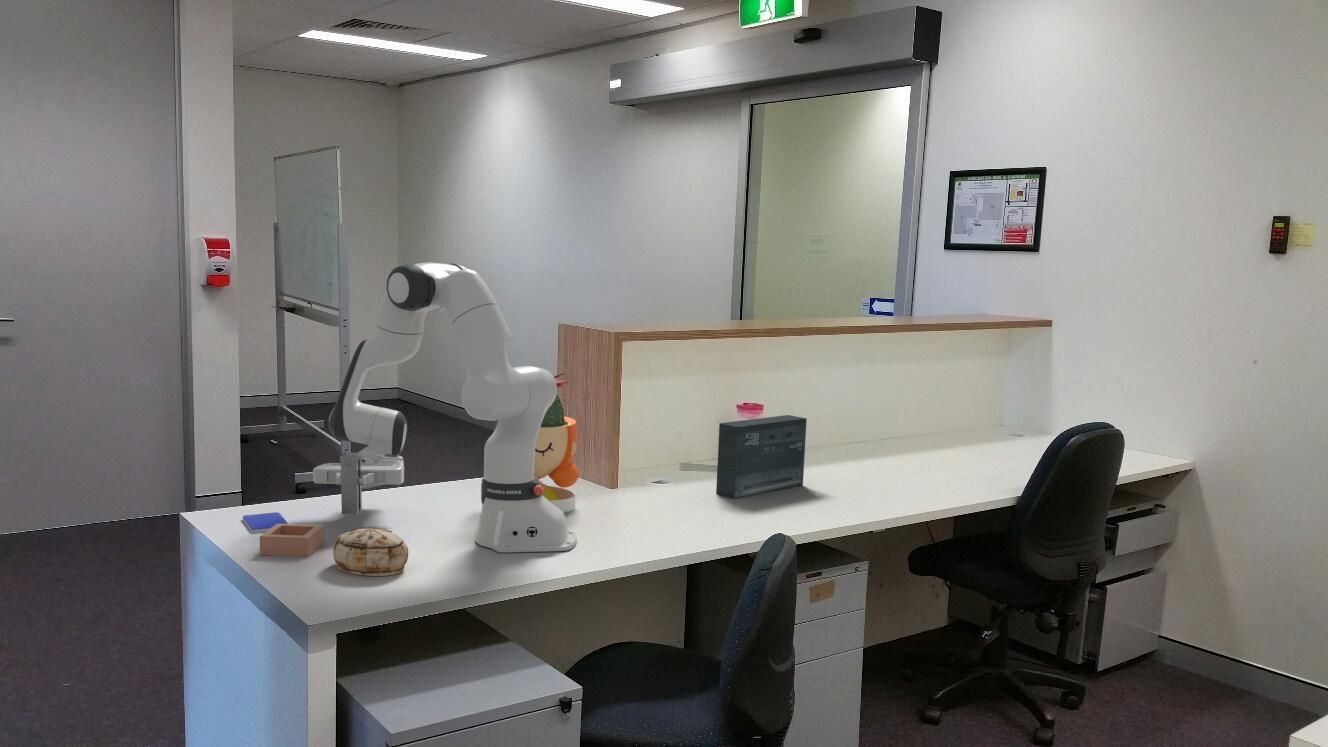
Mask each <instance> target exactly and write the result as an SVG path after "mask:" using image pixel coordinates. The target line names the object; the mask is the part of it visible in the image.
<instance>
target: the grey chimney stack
mask: <svg viewBox="0 0 1328 747" xmlns="http://www.w3.org/2000/svg"><path fill="white" fill-rule="evenodd" d="M361 458H362V453H358V452H344V453H342V454H341V455H339V462H340V463H341V485H340V490H341V492H340V493H341V494H340V495H341V496H340V498H341V501H340V502H341V515H358V514H359V513H360V512H361V511H363V508H362V506H363V502H362V500H363V499H362V496H363V494H362V491H363V490H362V489H363V488H361V485H358V482H359V481H358V477H359V476H361Z"/></svg>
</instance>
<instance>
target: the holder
mask: <svg viewBox="0 0 1328 747" xmlns="http://www.w3.org/2000/svg"><path fill="white" fill-rule="evenodd" d="M324 526H325V525H324V524H310V523H309V524H307V523H288V524H280V523H277V524H276V525H274V526H273V527H272V528H270V529H269V530H267V531H266V532H262V534H261V535H259V556H273V557H274V556H279V557H309V556H310V557H311V555H312V554H313V553H314V552H315V551H316V550H318V549H319V548H320V547H321V546H323V544H324V543H325V540H324V538H325V534H324V533H325V528H324Z"/></svg>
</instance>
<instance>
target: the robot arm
mask: <svg viewBox="0 0 1328 747" xmlns="http://www.w3.org/2000/svg"><path fill="white" fill-rule="evenodd" d="M429 311H431V312H438V311H445V312H446V314H447V315H448V318H449V320H450V323H451V325H452V327H453V330H454V332H455V334H456V336H457V338H458V341H459V343H460V346H461V348H462V352H463V354H464V357H465V361H466V370H467V373H466V374H467V376H466V379H465V382H464V384H463V386H462V389H461V403H462V406H463V408H464V410H465V411H466V413H467V414H468V415H469V417H470V416H471V417H472V418H473V419H476V420H480V421H481V420H482V421H492V422H494V421H497V424H496V427H495V429H494V430H493V433H492V434H491V435H490V436H489V437H488V439H487V440H486V442H485V444H484V450H483V451H484V457H483V458H484V460H483V461H484V462H483V477H482V479H481V483H480V485H481V486H480V501H481V504H482V507H481V513H480V514H481V515H480V520H479V525H478V528H477V533H476V536H475V538H474V541H475V543H476V544H478V545H479V546H482V547H484V548H489V549H492V550H494V551H495V552H496V553H497V552H498V553H531V552H564V551H565V552H566V551H569V550H571V549H572V548H574V547H575V546H576V545H577V541H578V540H577V534H576V533H575V532H574V531H572V530H570V529H568V524H567V520H566V516H565V513H563V512H562V510H560V509H559V508H558V507H556V506H555V505H554V504H553V503H551V502H550V501H549V500H547V499H546V498H545V497H544V496H542V494H543V484H544V483H543V480H541V479H540V480H539V481H538V480H537V479H535V478H534V462H535V447H536V441H537V436H538V433H539V429H540V426H541V423H542V421H543V418H544V416H545V413H546V411H547V410H548V408H549V407H550V406H551V405H552V403H553V402H554V400H555V398H556V395H557V394H558V393H557V391H558V388H557V384H556V381H555V380H556V378H555V379H554V377H553V376H554V375H553V374H552V373H551V372H550V371H549V370H547V369H546V368H541V367H537V366H533V365H523V366H516V367H515V366H514V367H512V365H511V364H510V362H509V357H508V347H509V346H510V344H511V342H512V333H511V330H510V328H509V326H508V324H507V322H506V320H505V318H504V315H503V313H502V311H501V309H500V307H499V304H498V303H497V300H496V299H495V297H494V294H493V293H492V292H491V290H490V288H489V286H488V285H487V284H486V282H485V281H484V279H483V278H482V276H480V274H479V273H478V272H477V271H475V270H472V269H469V268H468V267H465V266H464V265H461V264H457V263H442V262H441V263H439V262H433V261H432V262H419V263H405V264H402V265H399V266H395V268H393V269H392V270H391V271H390V273H389V274H388V276H387V280H386V288H385V291H384V292H383V294H382V298H381V301H380V304H379V307H378V312H377V316H376V322H375V327H374V330H373V332H372V334H371V335H370V336H369V338H367V339H363V340H362V341H361V342H360V343H359V345H358V346H357V347H356V349H355V351H354V354H353V355H352V359H351V361H350V363H349V366H348V368H347V372H346V374H345V378H344V380H343V383H342V386H341V388H340V392H339V394H338V396H337V400H336V403H335V404H334V406H333V408H332V410H331V412H330V415H329V418H328V426H327V427H328V430H329V431H330V433H331V434H332V436H333V437H334V438H335V439H336V440H337V441H343V442H351V443H358V444H363V445H367V446H366V447H364V448H363V449H362V450H360V451H358V452H357V453H362V458H361V476H359V477H358V481H359V482H358V485H361V488H362V489H371V488H374V487H380V486H384V485H385V486H386V485H393V486H395V485H396V486H398V485H402V484H403V483H404V482H405V463H404V462H405V461H404V458H403V456H402V455H400V454H401V453H402V452H403V451H404V449H405V447H406V443H407V440H408V436H409V423H408V421H407V419H406V418H405V415H404V413H402V412H401V411H398V410H395V409H391V408H386V407H383V406H382V407H380V406H375V405H372V404H366V403H364V402H361V401H360V400H359V396H360V391H361V389H362V387H363V383H364V381H365V378H366V375H367V373H368V371H369V370H371V369H373V368H378V367H383V366H389V365H390V366H391V365H397V364H401V363H404V362H406V361H408V360H410V359H411V358H413V357H414V356H415V355H416V354H417V353H418V351H419V350H420V346H421V342H422V339H423V335H424V331H425V330H424V328H425V322H426V316H427V314H428V313H429ZM557 396H558V395H557ZM312 480H313V483H314V484H323V485H324V484H325V485H327V484H328V485H336V486H337V485H338V486H341V462H337V463H336V462H328V463H323V464H320V465H317V466H315V467H314V468H313V469H312Z"/></svg>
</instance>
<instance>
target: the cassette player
mask: <svg viewBox="0 0 1328 747" xmlns="http://www.w3.org/2000/svg"><path fill="white" fill-rule="evenodd" d="M718 425H719V426H718V447H717V464H716V465H717V468H716V469H717V470H716V486H715V487H716V490H715V492H716V493H715V494H716V495H718V496H723V497H727V498H729V499H734V500H736V499H737V500H738V499H741V498H742V499H743V498H747V497H752V496H756V495H762V494H767V493H771V492H772V493H774V492H778V491H783V490H786V489H793V488H797V487H802V486H804V473H805V472H804V470H805V455H806V454H805V453H806V436H807V418H806V417H802V416H795V415H792V414H791V415H790V414H786V415H785V414H784V415H777V416H768V417H760V418H751V419H744V420H735V421H725V422H719V424H718Z"/></svg>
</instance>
